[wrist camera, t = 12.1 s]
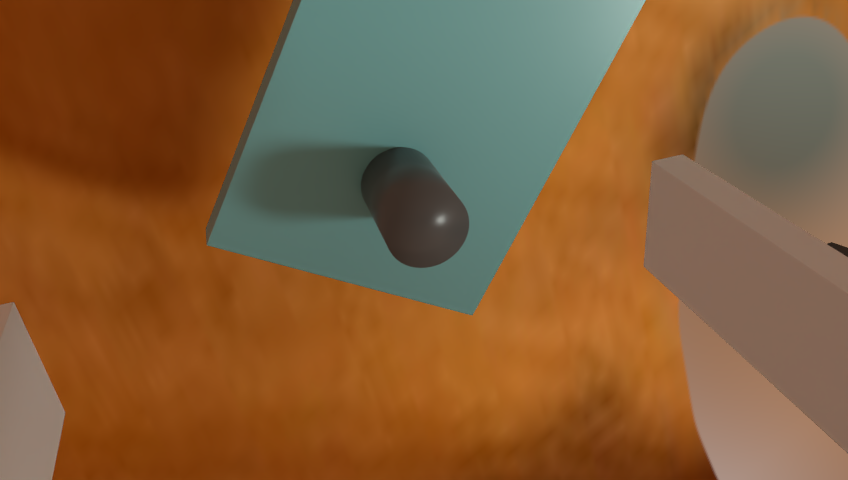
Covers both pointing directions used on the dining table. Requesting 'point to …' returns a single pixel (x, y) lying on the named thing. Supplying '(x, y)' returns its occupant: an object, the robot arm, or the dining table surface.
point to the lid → (411, 137)
